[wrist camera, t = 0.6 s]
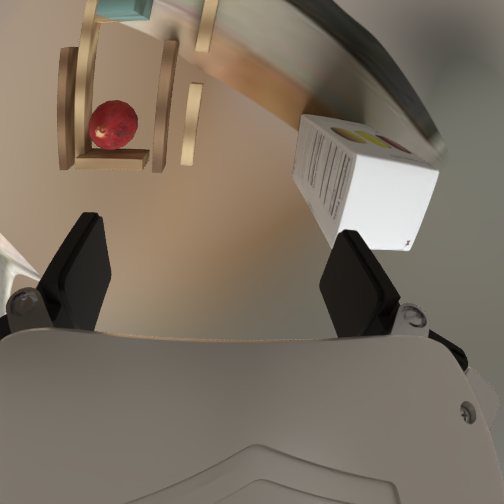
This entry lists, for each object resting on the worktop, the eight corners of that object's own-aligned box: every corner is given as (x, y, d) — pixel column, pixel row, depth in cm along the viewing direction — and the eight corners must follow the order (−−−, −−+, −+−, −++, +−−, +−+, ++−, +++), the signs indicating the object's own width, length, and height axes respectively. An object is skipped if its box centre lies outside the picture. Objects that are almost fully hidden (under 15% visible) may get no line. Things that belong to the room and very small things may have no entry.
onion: (151, 105, 30) (134, 117, 24) (134, 146, 33) (115, 168, 27) (111, 91, 28) (85, 99, 22) (96, 131, 31) (69, 150, 25)
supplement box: (365, 123, 34) (444, 170, 21) (352, 183, 40) (413, 252, 26) (298, 112, 33) (356, 152, 20) (289, 178, 38) (330, 252, 25)
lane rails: (71, 48, 23) (60, 48, 21) (179, 42, 26) (175, 40, 24) (69, 162, 33) (59, 170, 30) (165, 164, 35) (161, 172, 33)
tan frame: (95, -3, 20) (71, -13, 14) (170, -9, 21) (160, -25, 16) (82, 158, 32) (60, 178, 27) (149, 159, 34) (135, 180, 29)
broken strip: (206, 0, 23) (206, -5, 21) (218, 1, 23) (219, -4, 21) (182, 158, 35) (180, 164, 33) (193, 159, 35) (192, 165, 33)
